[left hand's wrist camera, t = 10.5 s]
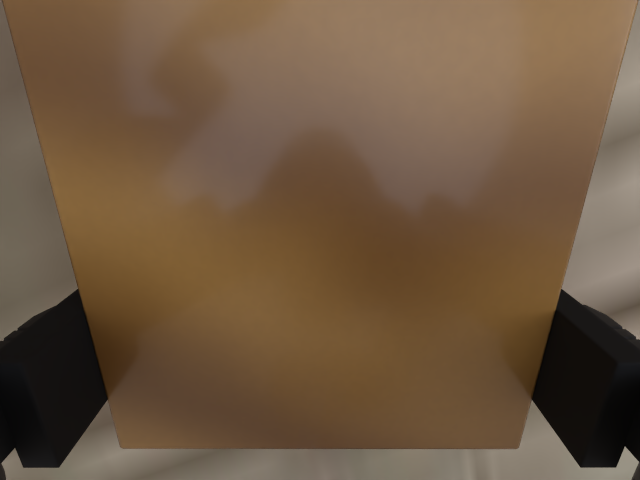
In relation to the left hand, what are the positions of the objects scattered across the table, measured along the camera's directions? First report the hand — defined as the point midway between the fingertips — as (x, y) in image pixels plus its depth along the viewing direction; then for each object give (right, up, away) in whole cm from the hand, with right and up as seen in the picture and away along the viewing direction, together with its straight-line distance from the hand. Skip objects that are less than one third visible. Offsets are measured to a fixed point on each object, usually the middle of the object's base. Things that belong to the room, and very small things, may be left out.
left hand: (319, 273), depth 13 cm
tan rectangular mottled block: (0, +7, +4) cm, 8 cm away
